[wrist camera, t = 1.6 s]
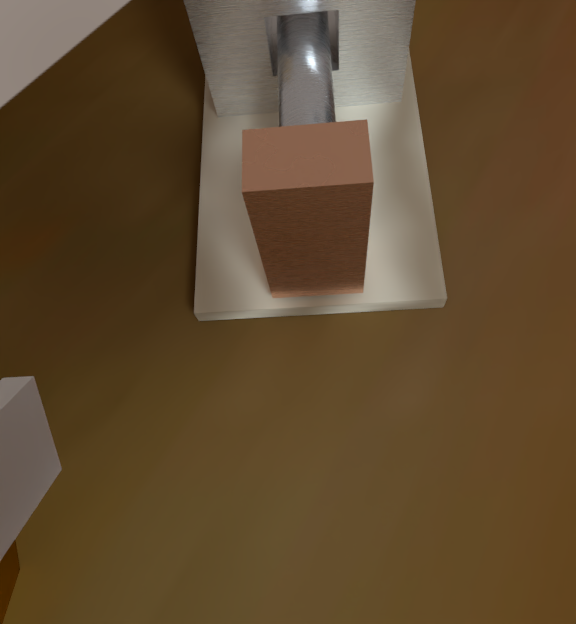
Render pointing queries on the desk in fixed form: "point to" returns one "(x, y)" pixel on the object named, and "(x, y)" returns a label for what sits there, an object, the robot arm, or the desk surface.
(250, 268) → the base board
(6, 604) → the trophy cup
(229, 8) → the bearing block
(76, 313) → the desk surface
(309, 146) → the shaft
